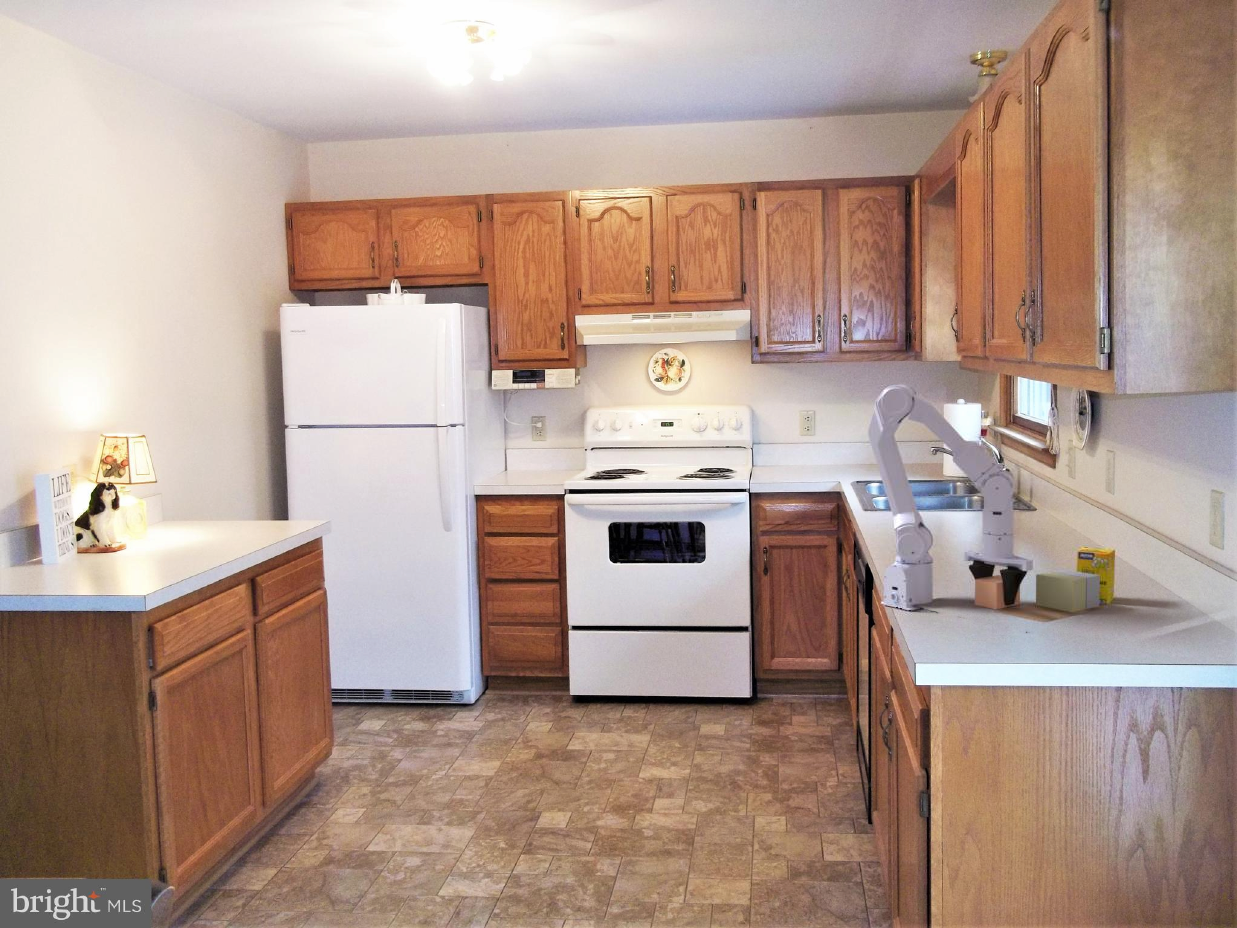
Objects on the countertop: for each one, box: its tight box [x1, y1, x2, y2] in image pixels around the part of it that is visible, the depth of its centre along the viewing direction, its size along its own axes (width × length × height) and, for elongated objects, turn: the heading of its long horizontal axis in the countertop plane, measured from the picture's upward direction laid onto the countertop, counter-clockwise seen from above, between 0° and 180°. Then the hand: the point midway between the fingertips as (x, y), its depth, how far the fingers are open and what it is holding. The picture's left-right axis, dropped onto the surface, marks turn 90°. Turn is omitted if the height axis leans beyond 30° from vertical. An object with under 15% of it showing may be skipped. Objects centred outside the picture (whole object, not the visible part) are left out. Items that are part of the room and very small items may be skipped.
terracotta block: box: [974, 574, 1021, 610], centre depth 214 cm, size 7×5×6 cm
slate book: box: [1050, 568, 1100, 609], centre depth 213 cm, size 4×8×6 cm, turn 33°
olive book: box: [1035, 571, 1086, 612], centre depth 210 cm, size 4×8×6 cm, turn 33°
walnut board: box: [993, 601, 1109, 623], centre depth 209 cm, size 20×11×1 cm, turn 123°
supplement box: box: [1076, 546, 1116, 605], centre depth 216 cm, size 6×6×11 cm
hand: (997, 602), depth 214 cm, fingers closed on terracotta block, 5 cm apart
